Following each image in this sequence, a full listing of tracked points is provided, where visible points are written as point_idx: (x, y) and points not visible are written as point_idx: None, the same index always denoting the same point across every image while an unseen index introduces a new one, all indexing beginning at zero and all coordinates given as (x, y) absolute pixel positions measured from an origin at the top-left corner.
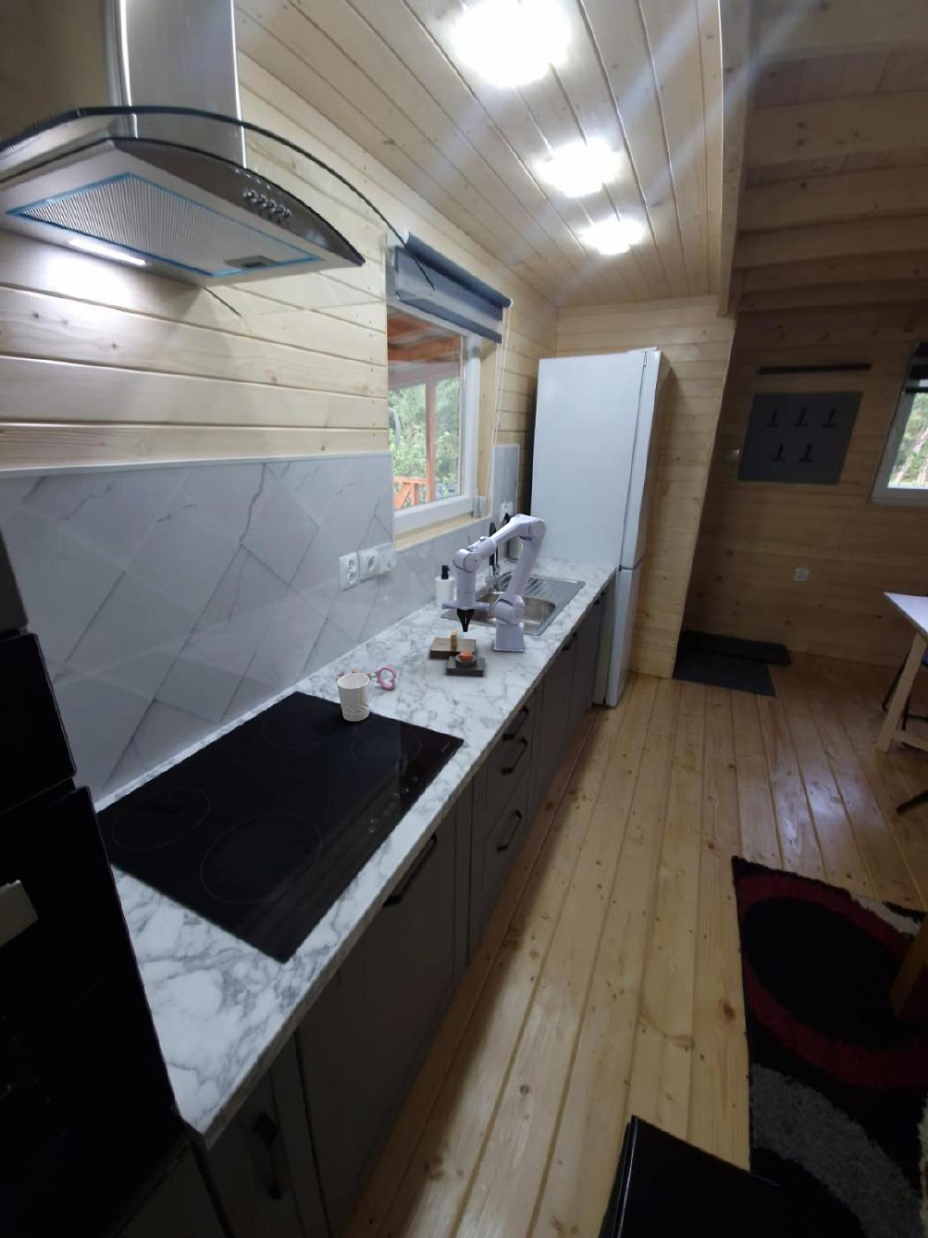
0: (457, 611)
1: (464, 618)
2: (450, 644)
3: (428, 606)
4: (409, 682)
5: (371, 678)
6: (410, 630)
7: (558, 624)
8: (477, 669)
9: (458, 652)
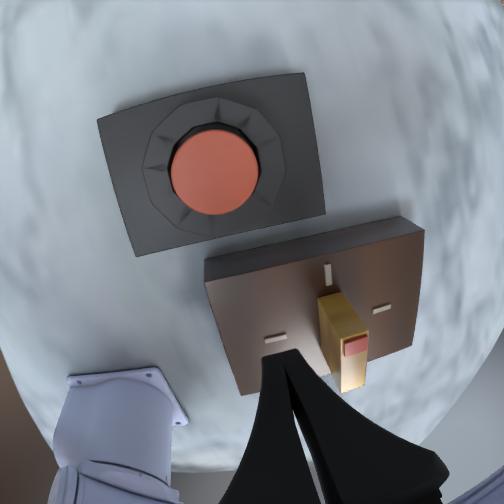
0: (431, 492)
1: (323, 456)
2: None
3: None
4: (410, 2)
5: (502, 1)
6: (455, 368)
7: None
8: (126, 112)
9: (289, 259)
